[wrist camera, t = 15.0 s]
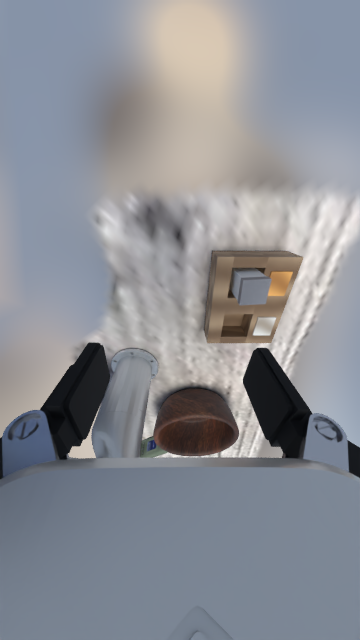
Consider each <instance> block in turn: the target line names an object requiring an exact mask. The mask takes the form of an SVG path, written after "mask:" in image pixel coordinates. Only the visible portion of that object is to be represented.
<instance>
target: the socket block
mask: <svg viewBox="0 0 360 640" xmlns="http://www.w3.org/2000/svg"><path fill="white" fill-rule="evenodd" d="M302 260H303V257H301V256H299V255H296V254H293V253H291V252H288V251H212V258H211V268H210V277H209V287H208V297H207V307H206V316H205V326H204V331H205V336H206V340H207V343H271V342H272V339H273V337H274V334H275V331H276V329H277V326H278V323H279V321H280V318H281V315H282V313H283V310H284V308H285V305H286V302H287V300H288V297H289V294H290V292H291V289H292V286H293V284H294V281H295V279H296V276H297V273H298V271H299V268H300V265H301V263H302ZM232 268H256V269H257V270H259V271H260V272H261V273H263V274H264V275H265V276H268V277H270V278H271V279H272V280H271V284H270V288H269V292H268V296H267V300H266V304H257V305H239V304H238V301H237V299H236V298H235V296H234V295H233V293H232V292H231V290H230V289H229V285H230V279H231V273H232Z"/></svg>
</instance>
